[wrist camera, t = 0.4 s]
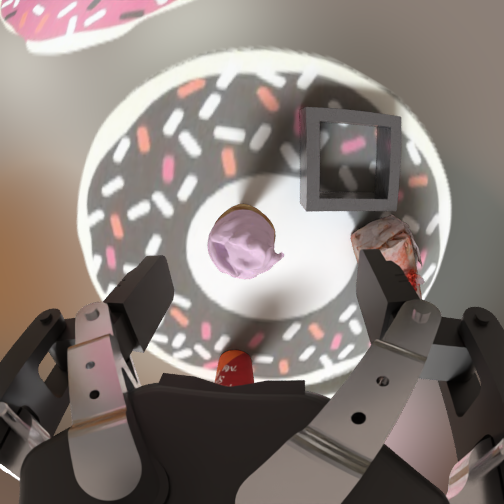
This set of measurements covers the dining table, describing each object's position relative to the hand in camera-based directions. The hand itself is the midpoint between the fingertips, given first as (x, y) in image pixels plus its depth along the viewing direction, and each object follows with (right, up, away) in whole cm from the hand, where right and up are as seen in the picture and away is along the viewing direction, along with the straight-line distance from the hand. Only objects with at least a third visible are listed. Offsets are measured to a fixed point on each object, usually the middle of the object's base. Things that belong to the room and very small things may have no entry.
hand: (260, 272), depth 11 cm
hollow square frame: (+12, +13, +22) cm, 28 cm away
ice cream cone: (-1, +6, +25) cm, 26 cm away
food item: (+18, 0, +28) cm, 34 cm away
